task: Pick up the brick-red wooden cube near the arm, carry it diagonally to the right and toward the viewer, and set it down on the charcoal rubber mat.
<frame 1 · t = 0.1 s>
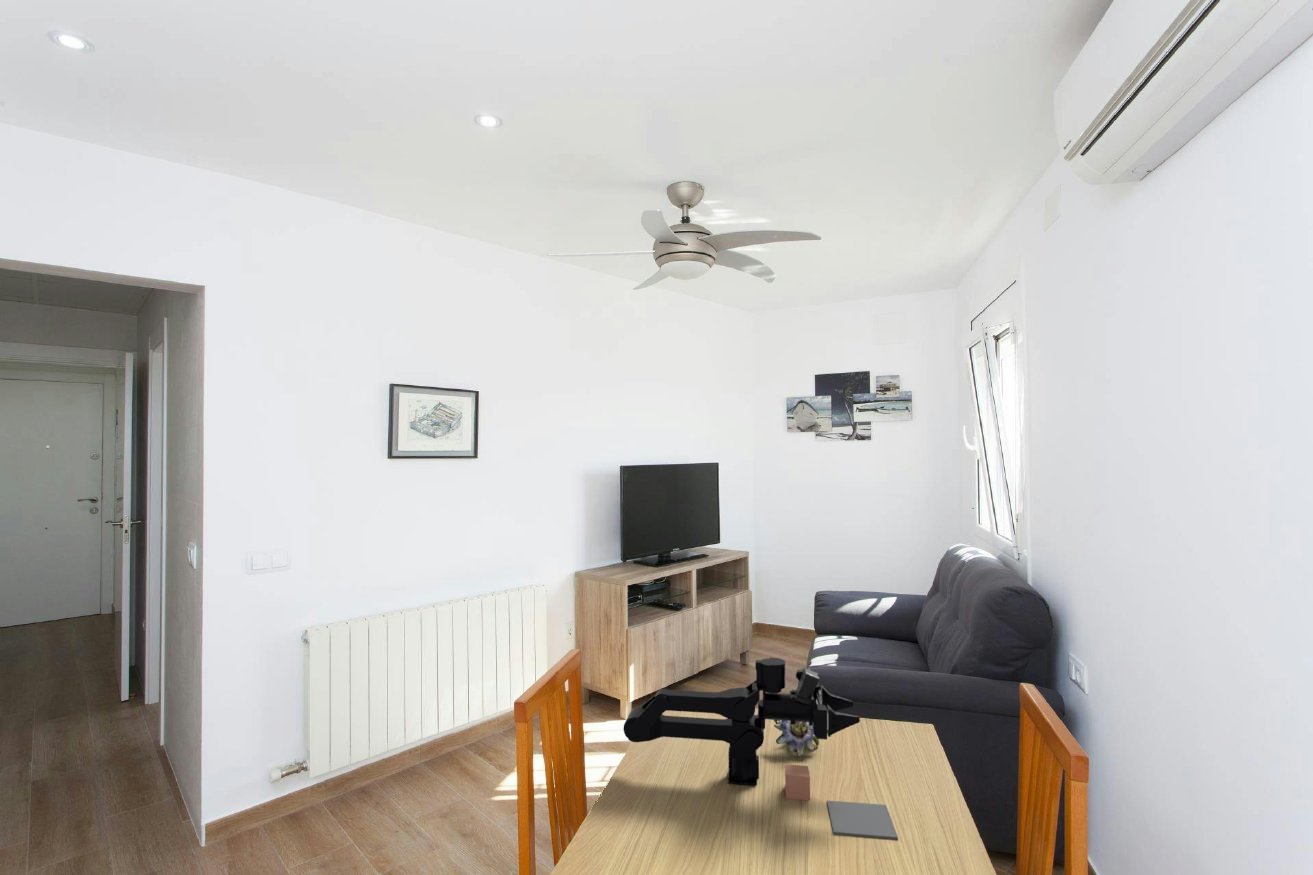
hand: (856, 711, 147), 17 cm above the table, tool horizontal, fingers open, 9 cm apart
mat: (860, 819, 133), on the table
passion flower: (795, 749, 166), on the table
cube: (797, 793, 143), on the table
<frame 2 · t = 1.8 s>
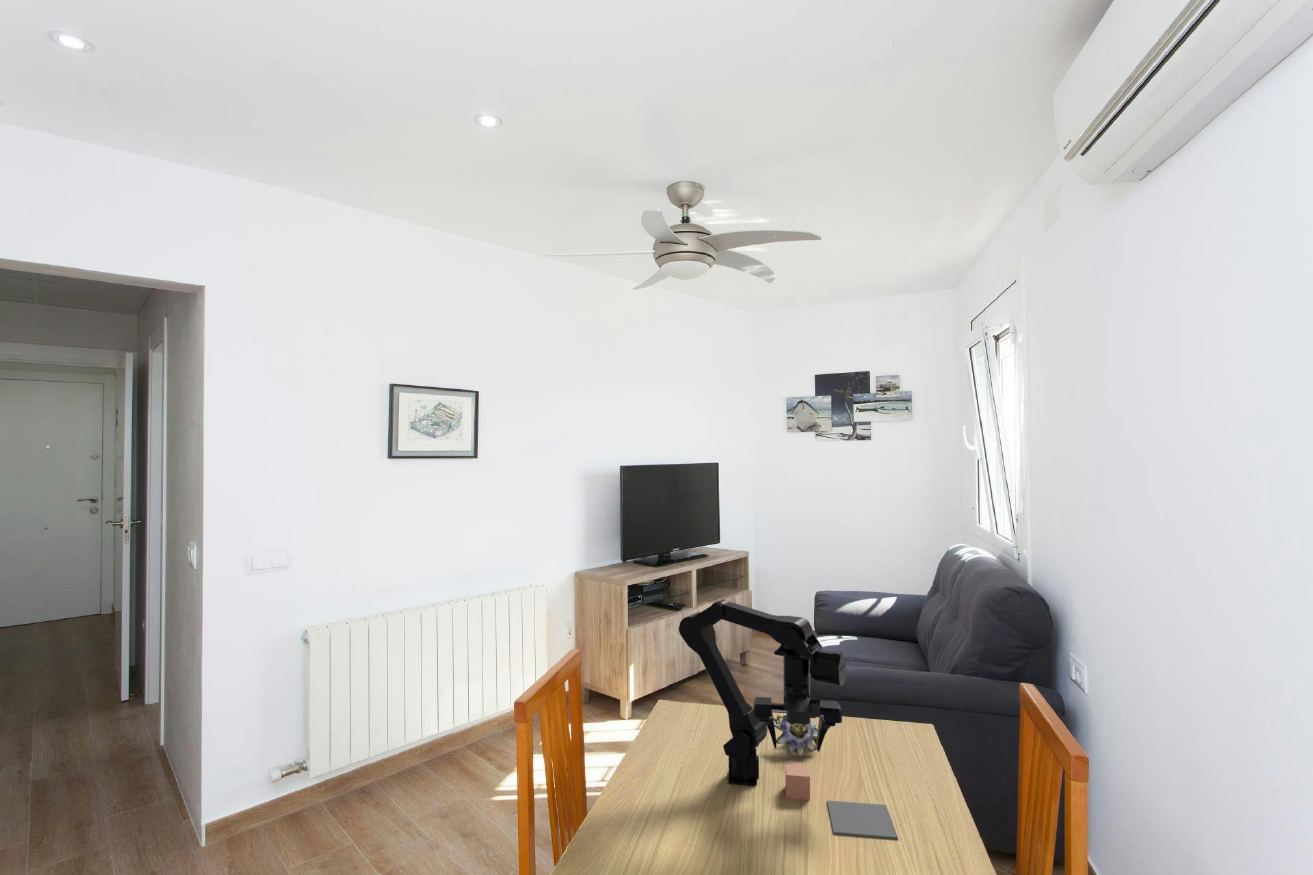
hand: (796, 749, 144), 9 cm above the table, tool pointing down, fingers open, 9 cm apart
nothing on the table moved.
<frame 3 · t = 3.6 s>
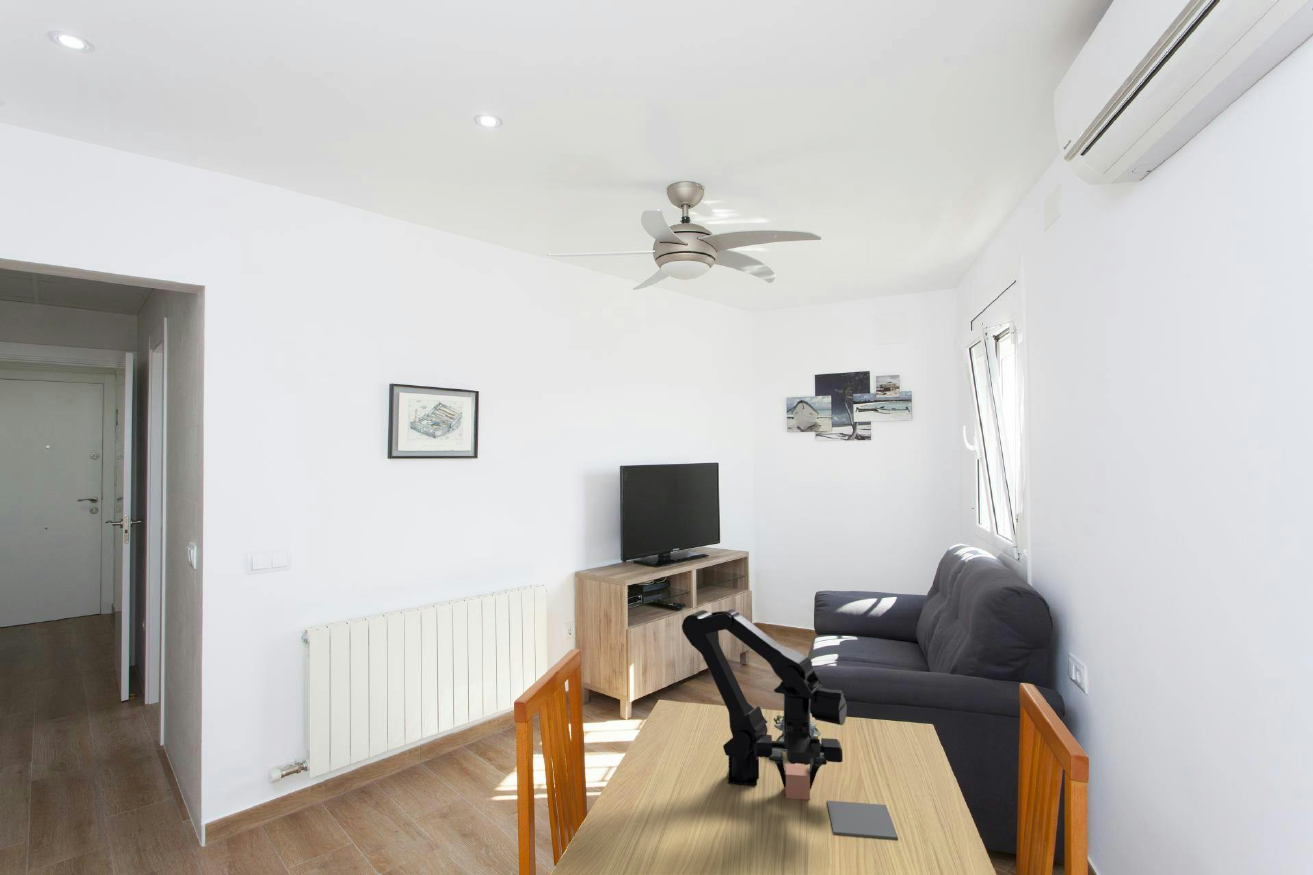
hand: (797, 787, 144), 1 cm above the table, tool pointing down, fingers closed on cube, 5 cm apart
cube: (797, 793, 143), on the table, touching gripper
everything else where it was.
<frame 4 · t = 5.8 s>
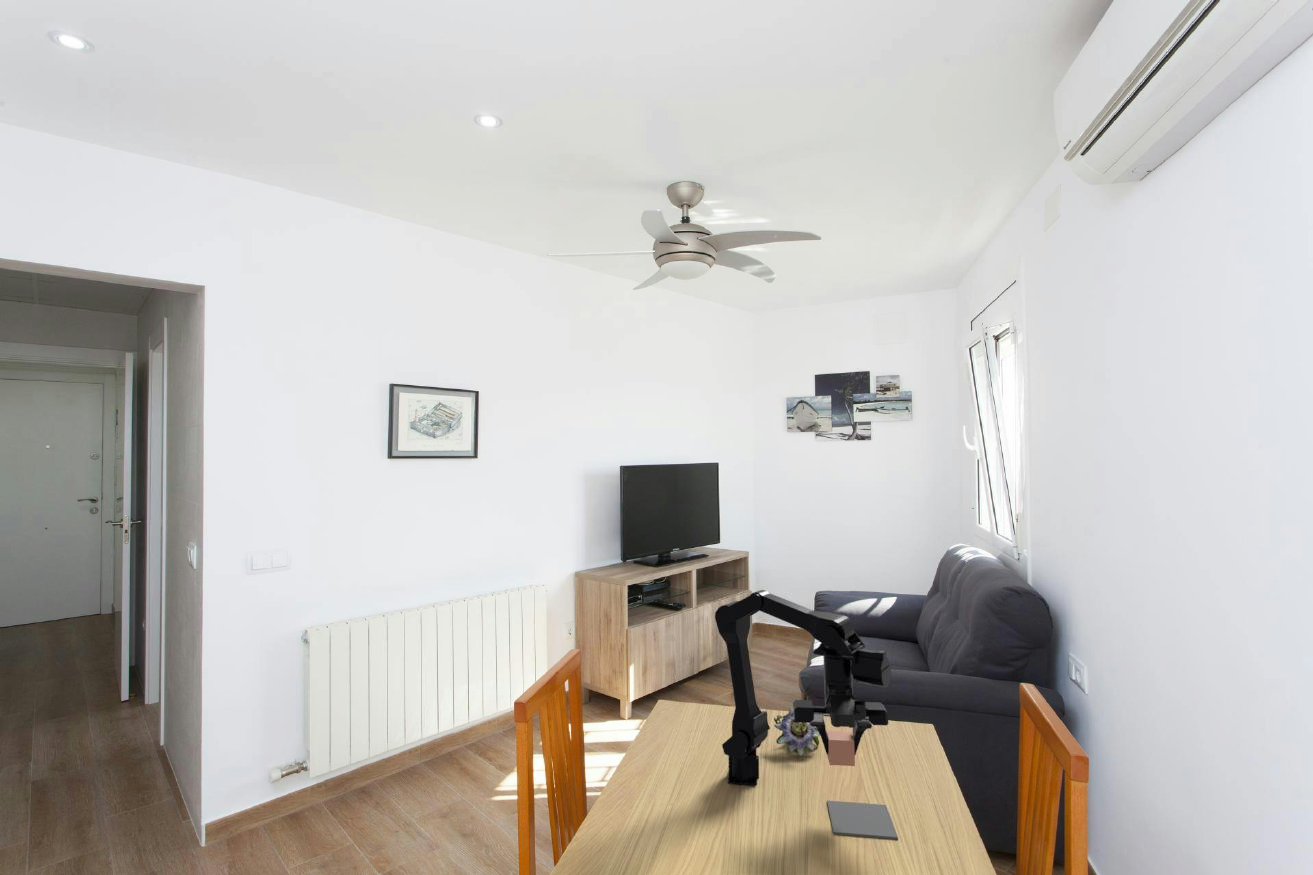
hand: (840, 754, 136), 12 cm above the table, tool pointing down, fingers closed on cube, 5 cm apart
cube: (840, 760, 136), point 10 cm above the table, touching gripper
everything else where it was.
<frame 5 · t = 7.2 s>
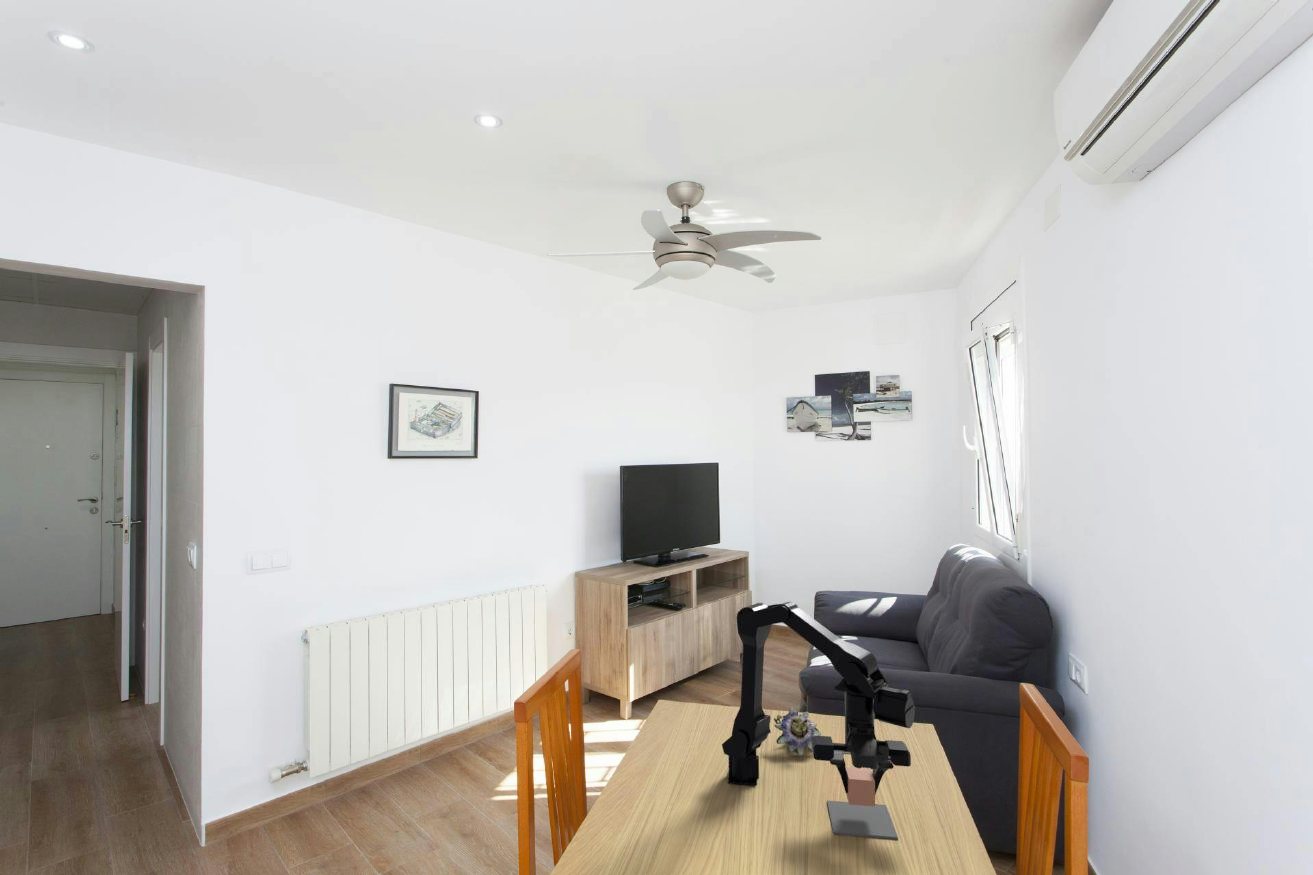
hand: (860, 793, 133), 5 cm above the table, tool pointing down, fingers closed on cube, 5 cm apart
cube: (860, 798, 133), point 4 cm above the table, touching gripper
everything else where it was.
when the fingers open (3 cm above the table, at t = 8.4 s): cube drops 1 cm, resting on mat.
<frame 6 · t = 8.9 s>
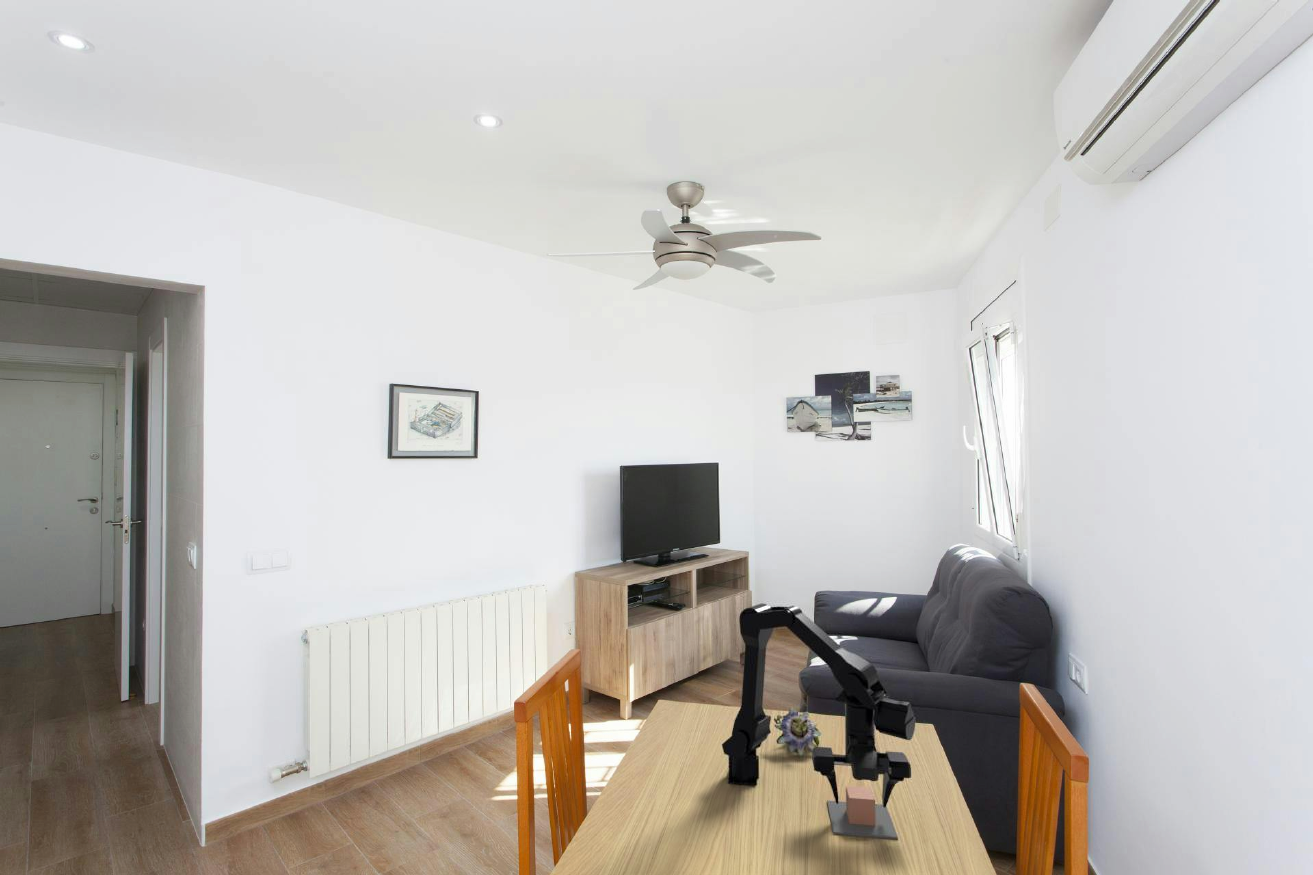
hand: (860, 804, 133), 3 cm above the table, tool pointing down, fingers open, 9 cm apart
cube: (860, 817, 133), resting on mat
everything else where it was.
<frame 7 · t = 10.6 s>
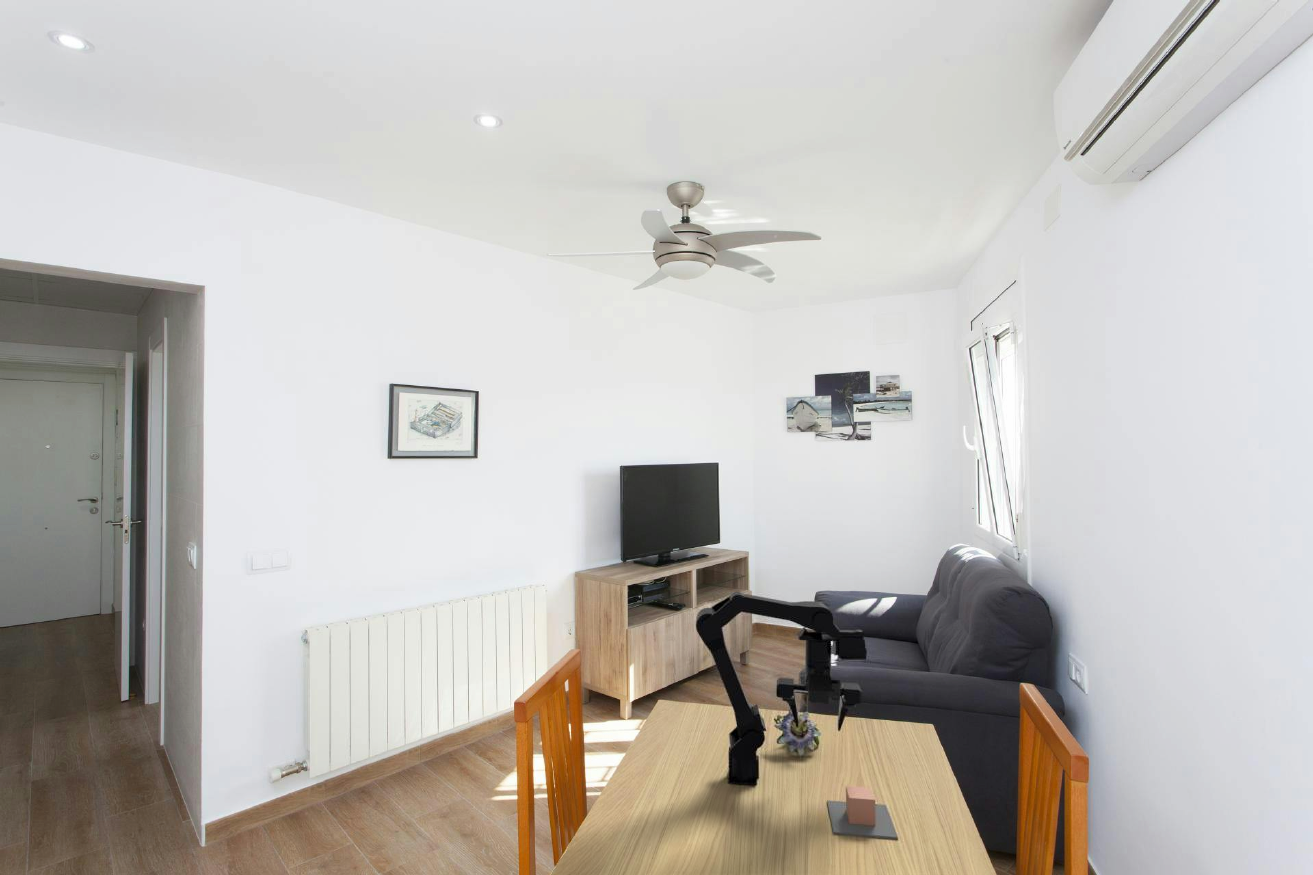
hand: (817, 728, 149), 12 cm above the table, tool pointing down, fingers open, 9 cm apart
nothing on the table moved.
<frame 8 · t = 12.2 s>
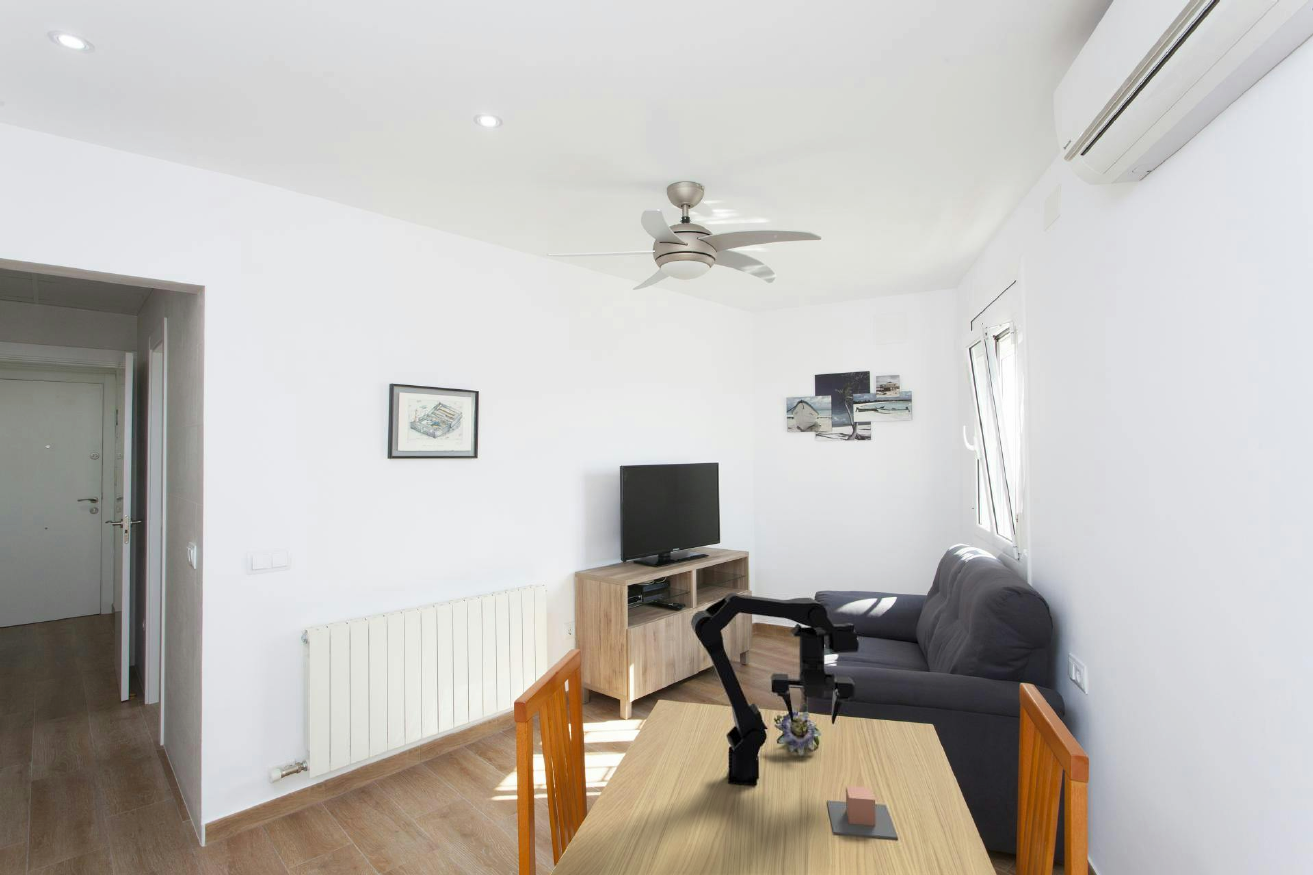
hand: (812, 722, 152), 12 cm above the table, tool pointing down, fingers open, 9 cm apart
nothing on the table moved.
at the end: cube inside the target area on the mat (0.0 cm from its centre), point 0.4 cm above the mat's base; cube tilted 0°; the gripper is holding nothing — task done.
